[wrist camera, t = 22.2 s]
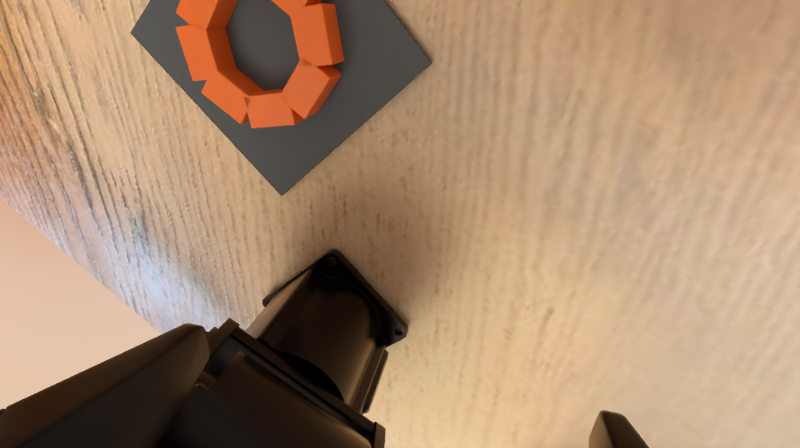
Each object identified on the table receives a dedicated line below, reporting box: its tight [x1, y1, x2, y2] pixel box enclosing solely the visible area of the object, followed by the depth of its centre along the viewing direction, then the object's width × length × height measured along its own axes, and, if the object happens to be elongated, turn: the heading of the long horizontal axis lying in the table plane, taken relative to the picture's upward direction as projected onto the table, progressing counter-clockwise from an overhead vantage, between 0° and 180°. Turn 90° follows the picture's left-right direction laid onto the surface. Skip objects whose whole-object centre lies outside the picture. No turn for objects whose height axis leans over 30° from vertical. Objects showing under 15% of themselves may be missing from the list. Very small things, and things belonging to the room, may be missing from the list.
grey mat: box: [131, 0, 432, 196], centre depth 18 cm, size 10×10×1 cm
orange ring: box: [176, 0, 344, 128], centre depth 17 cm, size 7×7×1 cm
